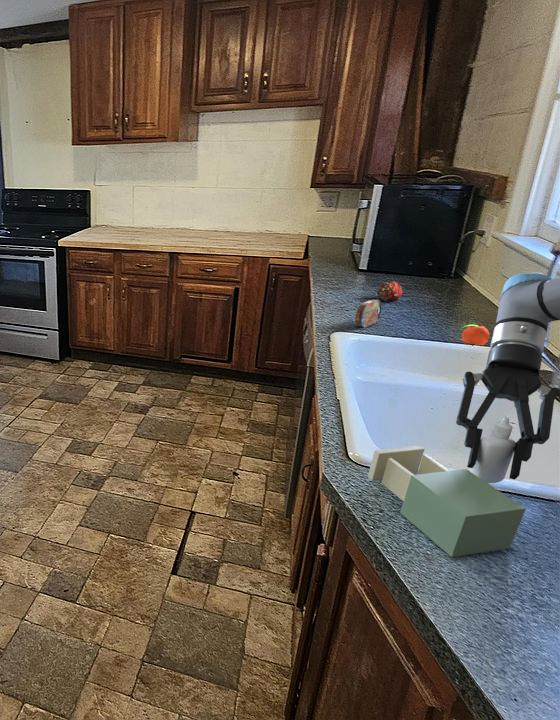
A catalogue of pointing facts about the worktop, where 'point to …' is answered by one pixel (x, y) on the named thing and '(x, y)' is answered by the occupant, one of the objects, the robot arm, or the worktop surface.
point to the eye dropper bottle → (495, 453)
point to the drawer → (401, 467)
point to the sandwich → (368, 313)
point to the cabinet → (461, 512)
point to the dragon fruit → (390, 291)
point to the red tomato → (475, 335)
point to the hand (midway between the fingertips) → (492, 470)
